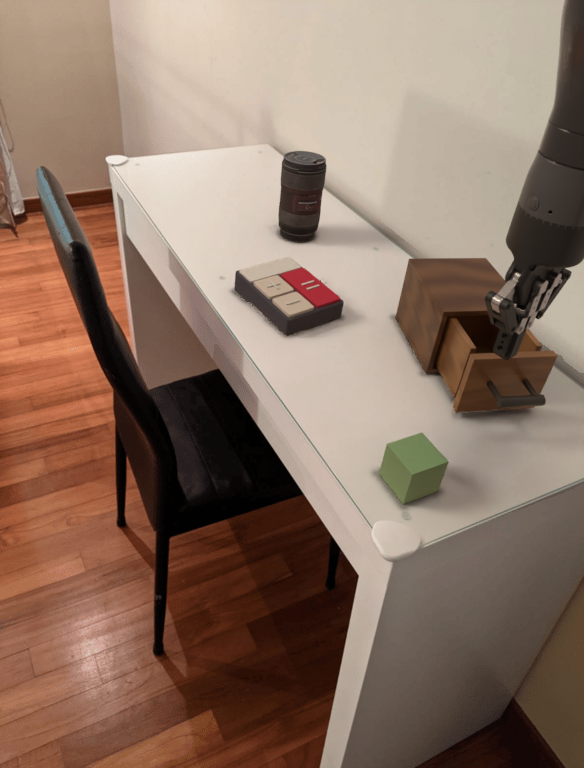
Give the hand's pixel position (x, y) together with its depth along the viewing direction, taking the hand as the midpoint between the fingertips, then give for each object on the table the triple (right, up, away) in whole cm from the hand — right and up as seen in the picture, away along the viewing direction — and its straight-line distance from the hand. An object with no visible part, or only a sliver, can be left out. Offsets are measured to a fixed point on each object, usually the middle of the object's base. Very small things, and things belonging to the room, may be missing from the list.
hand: (503, 354), depth 68 cm
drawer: (+3, -4, +17) cm, 17 cm away
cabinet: (+1, +3, +26) cm, 26 cm away
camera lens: (-23, +26, +51) cm, 61 cm away
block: (-10, -15, +3) cm, 18 cm away
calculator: (-24, +10, +31) cm, 41 cm away
